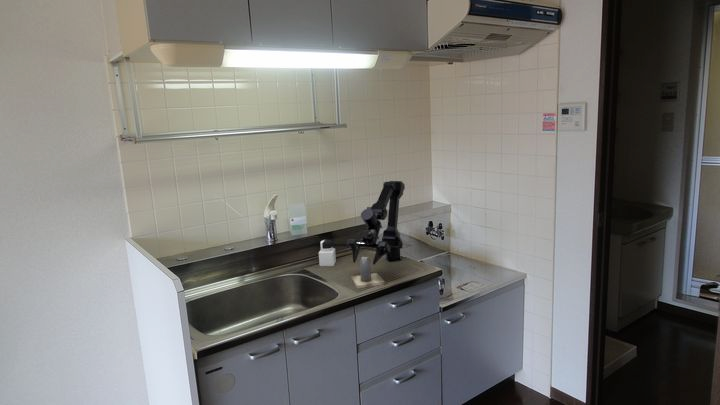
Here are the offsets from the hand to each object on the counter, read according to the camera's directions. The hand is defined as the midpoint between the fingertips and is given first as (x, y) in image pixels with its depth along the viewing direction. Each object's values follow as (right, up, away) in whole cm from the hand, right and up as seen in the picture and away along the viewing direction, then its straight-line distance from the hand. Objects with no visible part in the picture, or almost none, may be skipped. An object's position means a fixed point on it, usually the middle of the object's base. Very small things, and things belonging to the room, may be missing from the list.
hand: (363, 263), depth 199 cm
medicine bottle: (-17, -5, +31) cm, 36 cm away
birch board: (+2, -9, +4) cm, 10 cm away
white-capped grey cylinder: (+1, -8, +3) cm, 8 cm away
